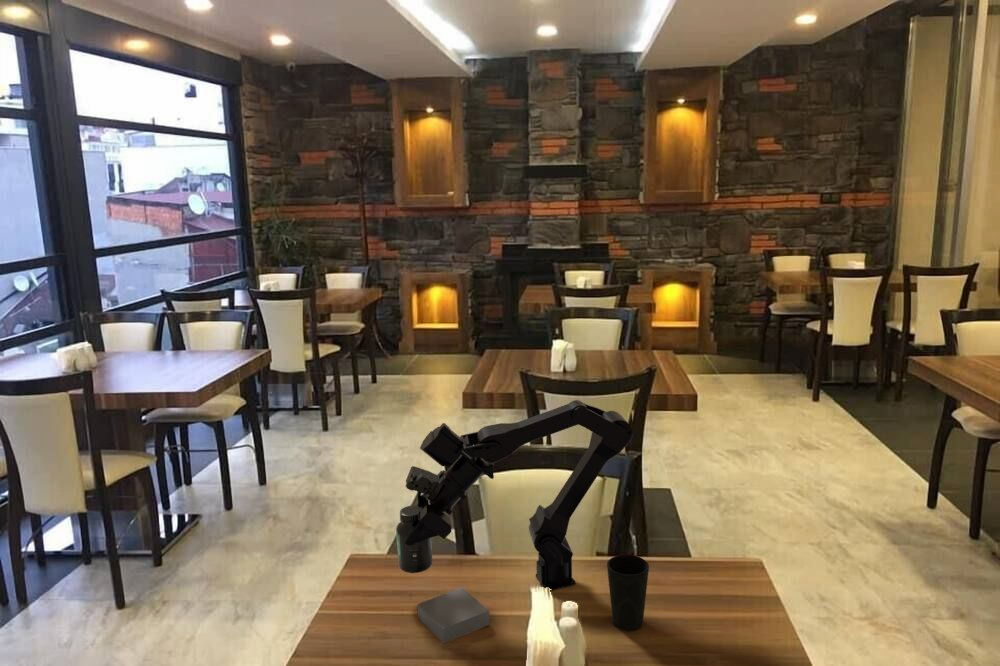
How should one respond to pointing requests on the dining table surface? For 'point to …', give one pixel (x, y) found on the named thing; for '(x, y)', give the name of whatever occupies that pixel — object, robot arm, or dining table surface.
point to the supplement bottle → (418, 553)
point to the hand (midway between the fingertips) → (406, 535)
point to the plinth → (453, 615)
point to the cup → (627, 590)
